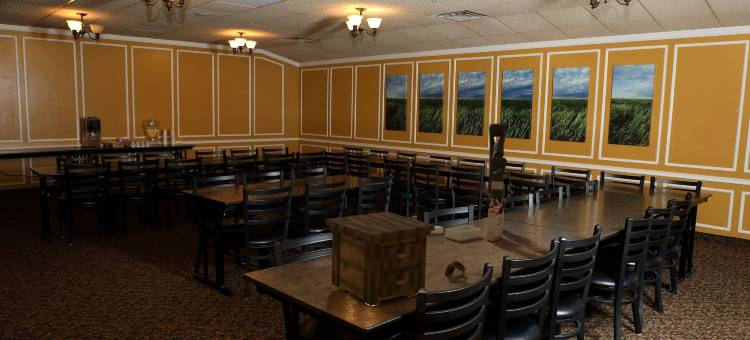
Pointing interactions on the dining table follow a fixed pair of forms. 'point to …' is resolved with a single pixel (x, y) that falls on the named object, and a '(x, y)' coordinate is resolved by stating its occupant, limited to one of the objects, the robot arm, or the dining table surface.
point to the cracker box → (494, 224)
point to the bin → (463, 233)
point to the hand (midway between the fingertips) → (496, 213)
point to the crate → (378, 255)
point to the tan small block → (437, 230)
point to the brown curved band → (451, 268)
